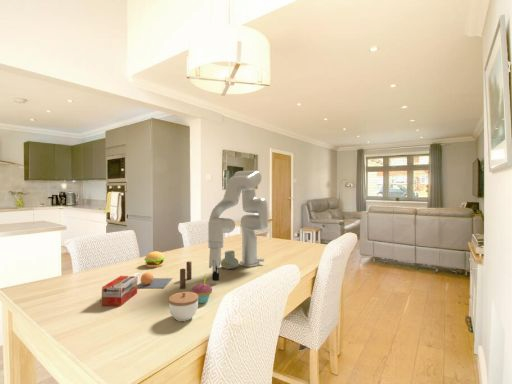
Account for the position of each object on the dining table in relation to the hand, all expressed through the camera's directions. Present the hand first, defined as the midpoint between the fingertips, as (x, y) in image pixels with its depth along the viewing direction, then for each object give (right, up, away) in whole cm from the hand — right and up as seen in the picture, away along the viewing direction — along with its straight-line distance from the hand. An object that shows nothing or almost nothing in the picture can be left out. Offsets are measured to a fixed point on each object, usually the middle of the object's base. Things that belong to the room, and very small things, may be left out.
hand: (215, 280), depth 138 cm
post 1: (-15, -2, -7) cm, 16 cm away
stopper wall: (-43, -1, -1) cm, 43 cm away
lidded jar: (-6, -2, -37) cm, 38 cm away
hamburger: (-43, -1, +31) cm, 53 cm away
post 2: (-15, -1, +6) cm, 16 cm away
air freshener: (+5, -2, +27) cm, 28 cm away
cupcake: (-3, -2, -22) cm, 22 cm away
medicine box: (-38, -2, -20) cm, 43 cm away
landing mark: (-31, -1, -1) cm, 31 cm away
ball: (-34, +2, -3) cm, 34 cm away
